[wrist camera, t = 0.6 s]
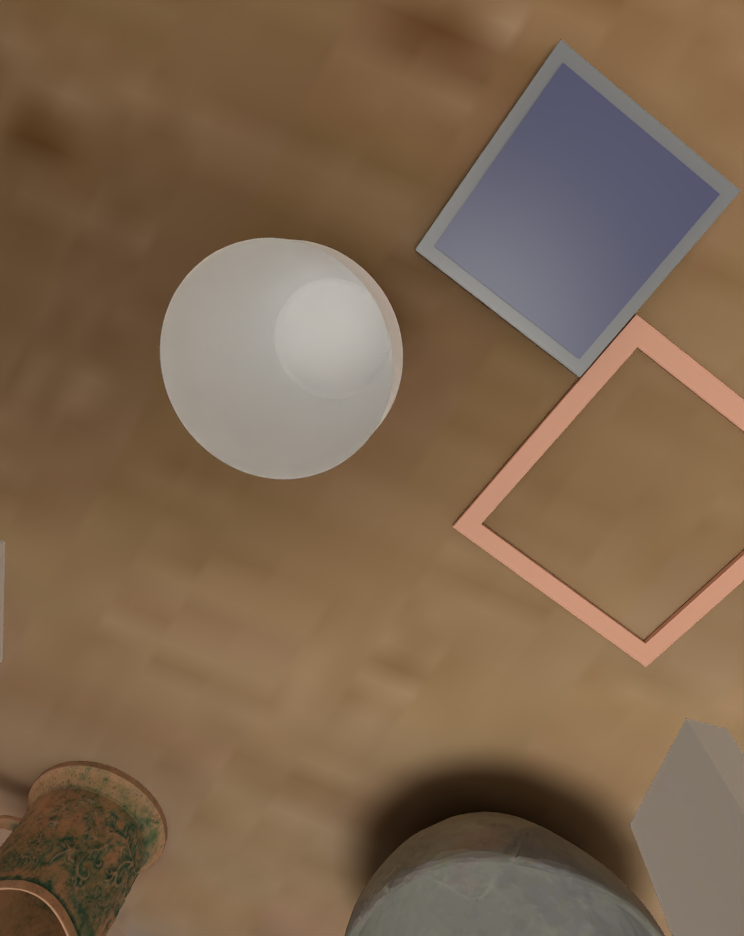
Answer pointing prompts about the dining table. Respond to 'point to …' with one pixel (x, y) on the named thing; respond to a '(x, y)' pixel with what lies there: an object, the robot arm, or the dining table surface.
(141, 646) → the dining table surface
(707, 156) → the dining table surface
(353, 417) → the cup
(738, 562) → the mark frame
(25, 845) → the mug
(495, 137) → the ink pad
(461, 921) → the bowl
